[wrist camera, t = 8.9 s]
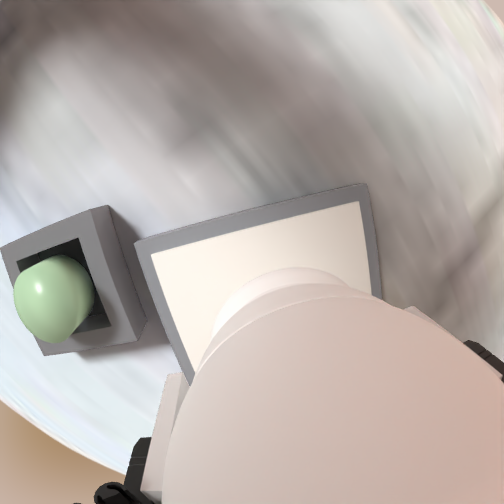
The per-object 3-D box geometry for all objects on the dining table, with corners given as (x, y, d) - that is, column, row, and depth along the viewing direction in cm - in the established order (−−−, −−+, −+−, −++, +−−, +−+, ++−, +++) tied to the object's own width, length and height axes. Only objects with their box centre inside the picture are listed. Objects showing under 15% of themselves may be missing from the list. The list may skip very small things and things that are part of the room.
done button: (54, 326, 18) (33, 347, 15) (29, 264, 17) (3, 277, 14) (105, 315, 18) (87, 337, 15) (79, 246, 17) (55, 259, 14)
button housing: (59, 338, 21) (44, 356, 18) (21, 239, 19) (-1, 247, 16) (147, 321, 21) (137, 340, 18) (108, 204, 19) (90, 209, 16)
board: (195, 388, 23) (194, 399, 21) (138, 239, 20) (132, 244, 18) (378, 337, 23) (385, 346, 22) (359, 183, 20) (368, 183, 18)
